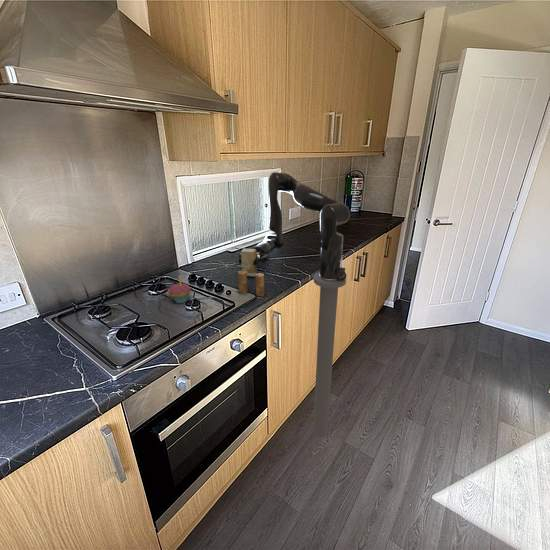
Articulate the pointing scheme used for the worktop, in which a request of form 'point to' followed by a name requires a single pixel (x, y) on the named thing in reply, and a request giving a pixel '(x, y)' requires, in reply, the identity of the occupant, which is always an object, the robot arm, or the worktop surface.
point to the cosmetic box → (248, 261)
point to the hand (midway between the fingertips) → (246, 262)
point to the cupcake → (179, 292)
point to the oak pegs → (258, 278)
